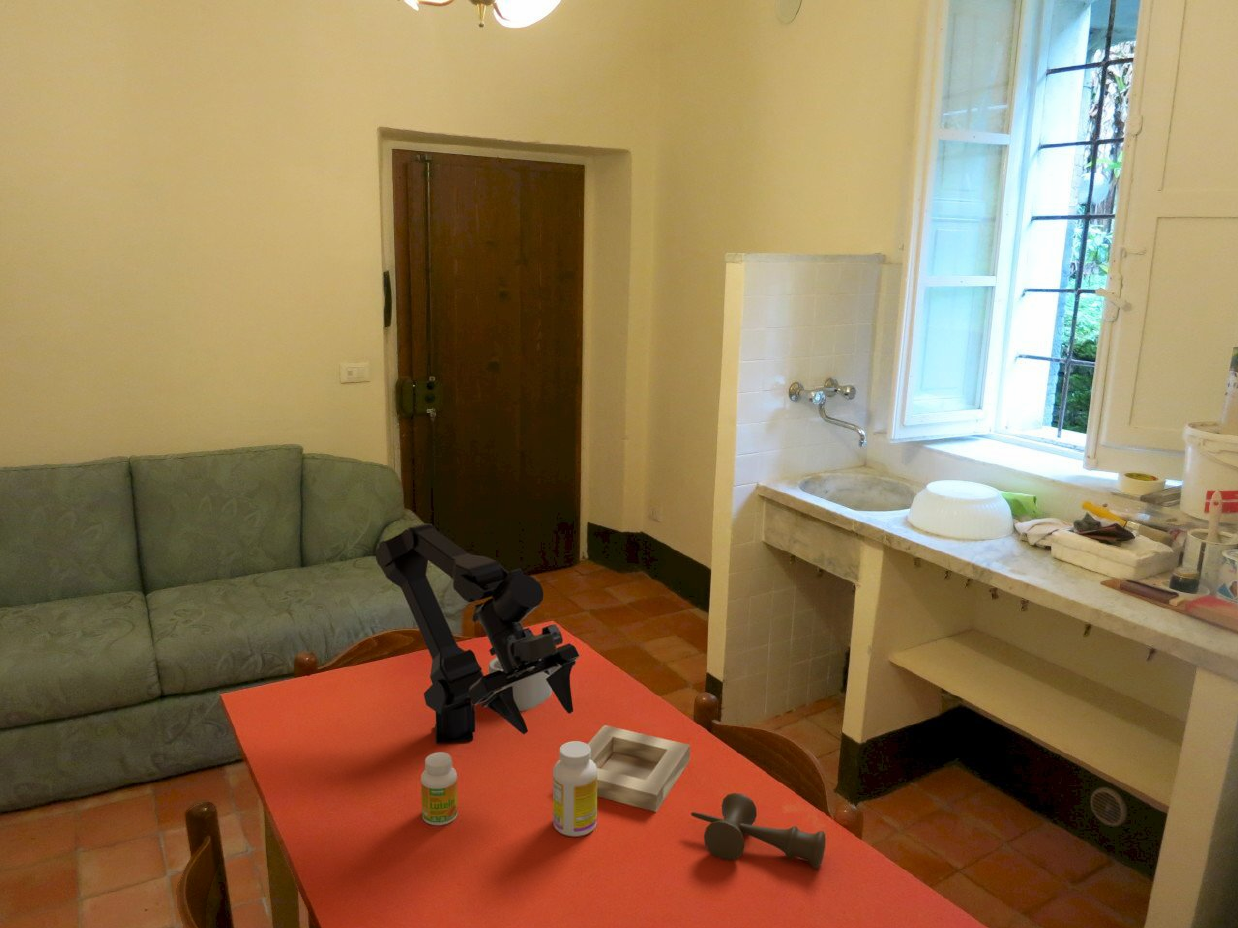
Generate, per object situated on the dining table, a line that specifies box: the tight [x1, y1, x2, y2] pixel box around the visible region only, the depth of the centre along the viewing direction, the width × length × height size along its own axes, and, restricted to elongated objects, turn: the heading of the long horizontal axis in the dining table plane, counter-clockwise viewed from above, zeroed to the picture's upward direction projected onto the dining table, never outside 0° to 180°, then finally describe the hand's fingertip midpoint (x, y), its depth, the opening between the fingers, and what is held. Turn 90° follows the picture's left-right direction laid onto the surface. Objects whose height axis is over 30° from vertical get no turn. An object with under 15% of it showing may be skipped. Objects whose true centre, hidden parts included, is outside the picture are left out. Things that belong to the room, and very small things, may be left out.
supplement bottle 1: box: [420, 752, 459, 826], centre depth 142 cm, size 5×5×10 cm
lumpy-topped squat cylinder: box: [488, 656, 553, 712], centre depth 180 cm, size 10×13×9 cm
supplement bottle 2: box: [552, 740, 598, 837], centre depth 140 cm, size 7×7×13 cm
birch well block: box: [587, 724, 691, 813], centre depth 154 cm, size 16×16×3 cm
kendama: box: [690, 792, 827, 870], centre depth 136 cm, size 6×10×20 cm
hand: (548, 722), depth 145 cm, fingers open, 9 cm apart
